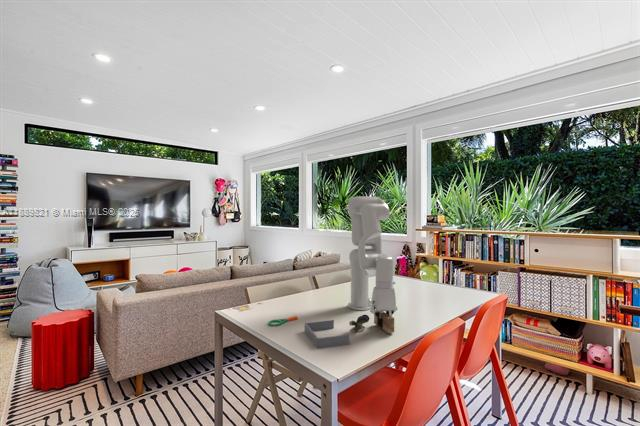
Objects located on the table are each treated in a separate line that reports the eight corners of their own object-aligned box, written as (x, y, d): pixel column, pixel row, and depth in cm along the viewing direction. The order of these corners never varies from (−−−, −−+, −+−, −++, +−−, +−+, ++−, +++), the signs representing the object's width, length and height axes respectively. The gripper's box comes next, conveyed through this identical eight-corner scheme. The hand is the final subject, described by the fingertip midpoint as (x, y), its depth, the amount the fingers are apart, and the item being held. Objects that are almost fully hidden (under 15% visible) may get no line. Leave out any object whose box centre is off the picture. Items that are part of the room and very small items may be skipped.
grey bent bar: (333, 327, 139) (333, 319, 139) (349, 343, 122) (349, 334, 122) (304, 331, 134) (304, 323, 134) (317, 348, 118) (317, 338, 118)
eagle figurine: (367, 332, 130) (373, 322, 138) (358, 318, 131) (364, 308, 139) (353, 339, 133) (360, 328, 141) (344, 325, 134) (351, 315, 142)
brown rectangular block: (379, 322, 143) (380, 309, 143) (394, 332, 132) (394, 318, 132) (374, 323, 142) (374, 310, 142) (387, 333, 131) (388, 318, 131)
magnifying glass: (272, 328, 138) (272, 324, 138) (265, 324, 143) (265, 320, 143) (300, 321, 148) (300, 317, 148) (293, 317, 152) (293, 314, 152)
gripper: (395, 281, 143) (395, 321, 143) (363, 283, 138) (363, 325, 138) (405, 285, 136) (404, 327, 136) (371, 287, 131) (371, 331, 131)
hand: (383, 325), depth 137 cm, fingers closed on brown rectangular block, 3 cm apart
